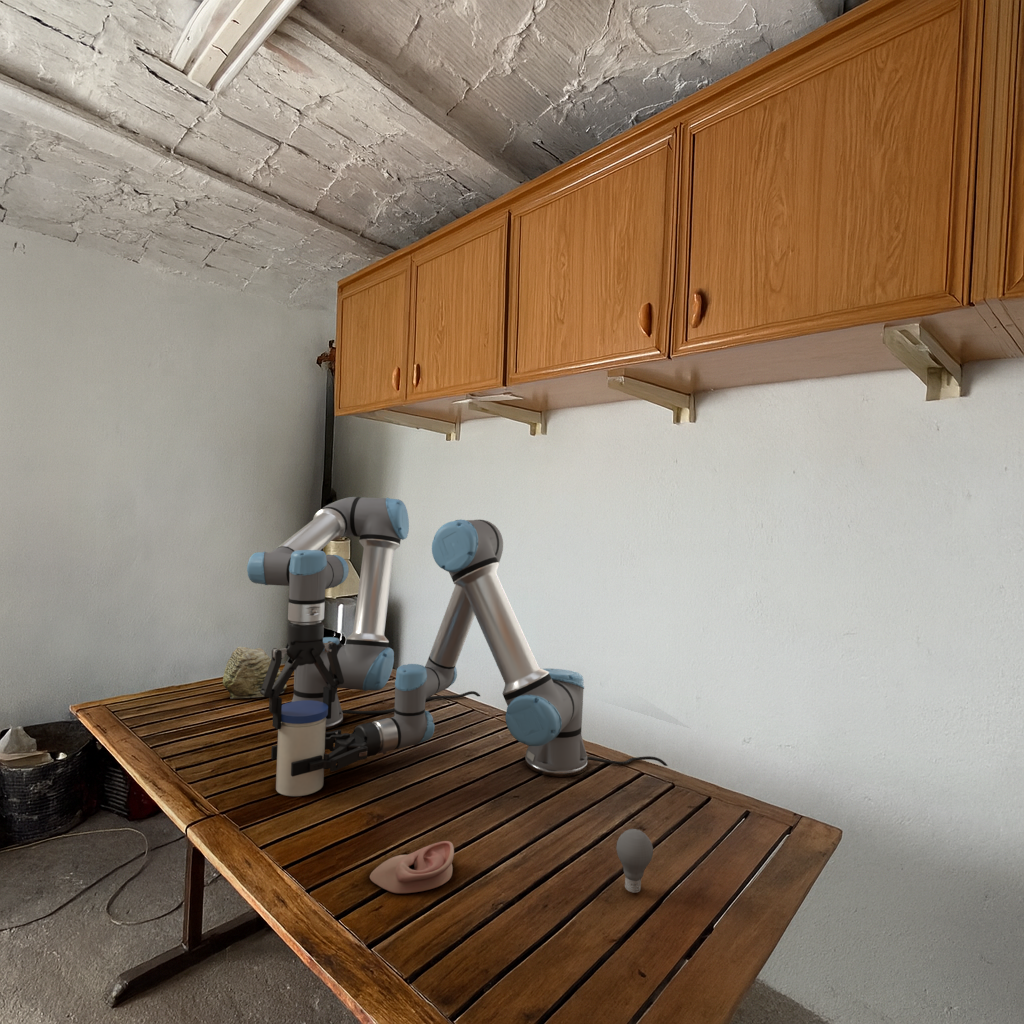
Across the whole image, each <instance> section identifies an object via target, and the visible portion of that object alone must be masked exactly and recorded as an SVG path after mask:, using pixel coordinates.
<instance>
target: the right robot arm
mask: <svg viewBox="0 0 1024 1024" xmlns="http://www.w3.org/2000/svg"><path fill="white" fill-rule="evenodd" d="M503 551H504V539H503V535H502V533H501V531H500V529H499V528H498V527H497V526H496V525H495V524H494V523H492V522H491V521H489V520H485V519H455V520H452V521H448V522H446V523H444V524H443V525H441V526H440V527H439V528H438V529H437V530H436V532H435V534H434V536H433V539H432V542H431V554H432V558H433V560H434V562H435V563H436V565H437V566H438V567H439V569H442V570H444V571H445V572H447V573H449V575H450V578H451V580H452V582H453V584H454V588H453V591H452V593H451V596H450V599H449V601H448V604H447V607H446V609H445V612H444V615H443V618H442V621H441V623H440V626H439V628H438V631H437V634H436V637H435V640H434V642H433V645H432V648H431V650H430V653H429V655H428V658H427V661H426V663H425V665H423V664H419V663H407V664H401V665H400V666H398V667H397V668H396V671H395V672H396V674H395V681H394V708H395V712H393V714H394V715H393V716H391V717H386V718H382V719H378V720H374V721H372V722H371V721H370V722H366V723H365V722H364V723H361V724H357V725H356V726H355V727H354V729H353V731H352V732H351V733H350V732H349V733H348V732H346V733H345V732H344V733H342V729H335V730H332V731H326V734H325V751H326V750H329V751H330V752H329V753H326V752H325V753H324V759H322V756H321V755H320V756H316V757H312V758H308V759H304V760H300V761H296V762H292V763H291V776H292V777H293V776H297V775H301V774H304V773H308V772H312V771H316V770H319V769H322V768H323V769H324V770H329V772H330V773H331V772H332V773H333V772H336V771H338V770H340V769H341V770H342V769H343V768H345V767H347V766H350V765H353V764H354V763H356V762H359V761H362V760H367V759H368V758H370V757H374V756H376V755H380V754H384V755H385V754H387V753H388V752H391V751H395V750H398V749H402V748H407V747H411V746H417V745H419V744H421V743H422V744H423V743H424V742H426V741H430V739H432V737H433V736H434V733H435V730H436V729H435V727H436V726H435V723H434V717H433V715H432V714H431V713H430V711H428V710H426V699H427V698H429V697H432V696H435V695H436V694H438V693H440V692H442V691H445V690H447V689H448V688H450V687H451V686H452V685H453V684H454V683H455V682H456V680H457V677H458V671H457V667H456V666H457V663H458V660H459V658H460V655H461V653H462V651H463V647H464V645H465V642H466V640H467V638H468V634H469V632H470V629H471V627H472V624H473V621H474V619H476V621H477V623H478V625H479V628H480V630H481V632H482V635H483V637H484V638H485V639H484V640H485V641H486V644H487V646H488V648H489V650H490V653H491V655H492V657H493V659H494V661H495V664H496V666H497V668H498V671H499V672H500V676H501V678H502V680H503V682H504V687H503V690H502V692H501V693H502V696H503V699H504V701H505V703H506V705H507V707H506V712H505V716H504V717H505V723H506V727H507V729H508V731H509V733H510V734H511V736H512V737H513V738H514V739H515V740H516V741H518V742H519V743H521V744H524V745H526V746H527V748H526V752H525V757H524V758H525V759H524V762H525V765H526V766H527V768H529V769H530V770H531V771H533V772H535V773H538V774H540V775H544V776H550V777H556V778H557V777H561V778H563V777H573V776H577V775H579V774H580V775H581V774H582V773H584V772H585V771H586V770H588V761H594V762H599V763H605V764H611V765H617V766H619V765H620V766H622V765H628V764H630V763H632V762H636V761H644V760H651V761H657V762H658V763H660V764H662V765H663V766H665V767H667V766H669V765H668V764H667V763H666V762H665V761H664V760H663V759H661V758H659V757H656V756H650V755H648V756H647V755H646V756H637V757H630V758H629V759H627V760H624V761H623V760H622V761H617V760H610V759H605V758H600V757H594V756H593V757H592V756H588V754H587V751H586V747H585V743H584V739H583V735H582V729H583V728H582V726H583V710H584V709H583V708H584V707H583V706H584V689H585V685H584V683H585V681H584V677H583V676H584V675H582V674H581V673H579V672H576V671H574V670H568V669H564V668H563V669H562V668H550V667H549V668H548V667H547V668H541V667H540V666H539V664H538V662H537V660H536V657H535V655H534V653H533V651H532V649H531V646H530V644H529V642H528V639H527V637H526V635H525V633H524V631H523V628H522V626H521V624H520V622H519V620H518V618H517V615H516V613H515V611H514V608H513V607H512V605H511V602H510V600H509V598H508V595H507V593H506V591H505V589H504V586H503V585H502V582H501V580H500V577H499V575H498V574H497V573H498V568H499V566H500V561H501V558H502V556H503ZM270 755H271V756H270V759H271V760H277V744H275V745H271V754H270Z"/></svg>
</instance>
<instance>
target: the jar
mask: <svg viewBox="0 0 1024 1024" xmlns="http://www.w3.org/2000/svg"><path fill="white" fill-rule="evenodd" d="M326 732H327V730H326V717H325V718H324V719H322V720H319V721H316V722H311V723H304V724H291V723H285V722H282V721H281V729H278V730H277V743H276V745H277V759H276V769H275V770H276V771H275V773H276V775H275V790H276V792H277V793H278V794H280V795H283V796H287V797H302V796H308V795H311V794H314V793H316V792H318V791H320V790H322V788H323V787H324V784H325V783H324V781H325V780H324V779H325V769H323V768H322V769H319V770H316V771H312V772H308V773H304V774H301V775H297V776H293V777H292V776H291V763H292V762H296V761H300V760H304V759H308V758H312V757H316V756H320V755H321V756H322V759H324V753H326V750H325V734H326Z"/></svg>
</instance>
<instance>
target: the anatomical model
mask: <svg viewBox="0 0 1024 1024" xmlns="http://www.w3.org/2000/svg"><path fill="white" fill-rule="evenodd" d="M454 856H455V847H454V844H453V843H452V842H451V841H450V840H444V841H438V842H434V843H432V844H429V845H426V846H424V847H422V848H420V849H417V850H415V851H413V852H410V853H409V854H400V855H395V856H392V857H390V858H388V859H387V860H385V861H383V862H381V864H379V865H378V866H376V867H375V868H374V869H373V870H372V871H371V873H370V875H369V879H370V881H371V882H372V883H374V884H375V885H377V886H378V887H379V888H381V889H383V890H385V891H387V892H390V893H393V894H411V893H418V892H424V891H429V890H432V889H435V888H438V887H441V886H443V885H444V884H446V883H447V882H448V881H450V879H451V878H452V876H453V870H454V869H453V868H454V867H453V864H452V863H453V860H454V858H455V857H454Z"/></svg>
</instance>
